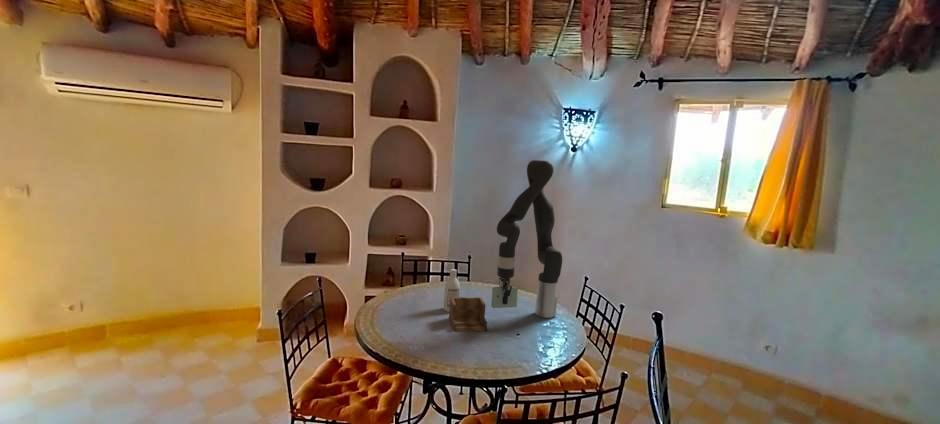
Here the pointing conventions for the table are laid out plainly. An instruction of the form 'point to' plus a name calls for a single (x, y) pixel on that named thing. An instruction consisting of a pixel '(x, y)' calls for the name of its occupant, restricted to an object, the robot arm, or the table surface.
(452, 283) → the bath foam
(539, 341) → the table surface
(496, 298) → the block
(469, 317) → the cabinet
